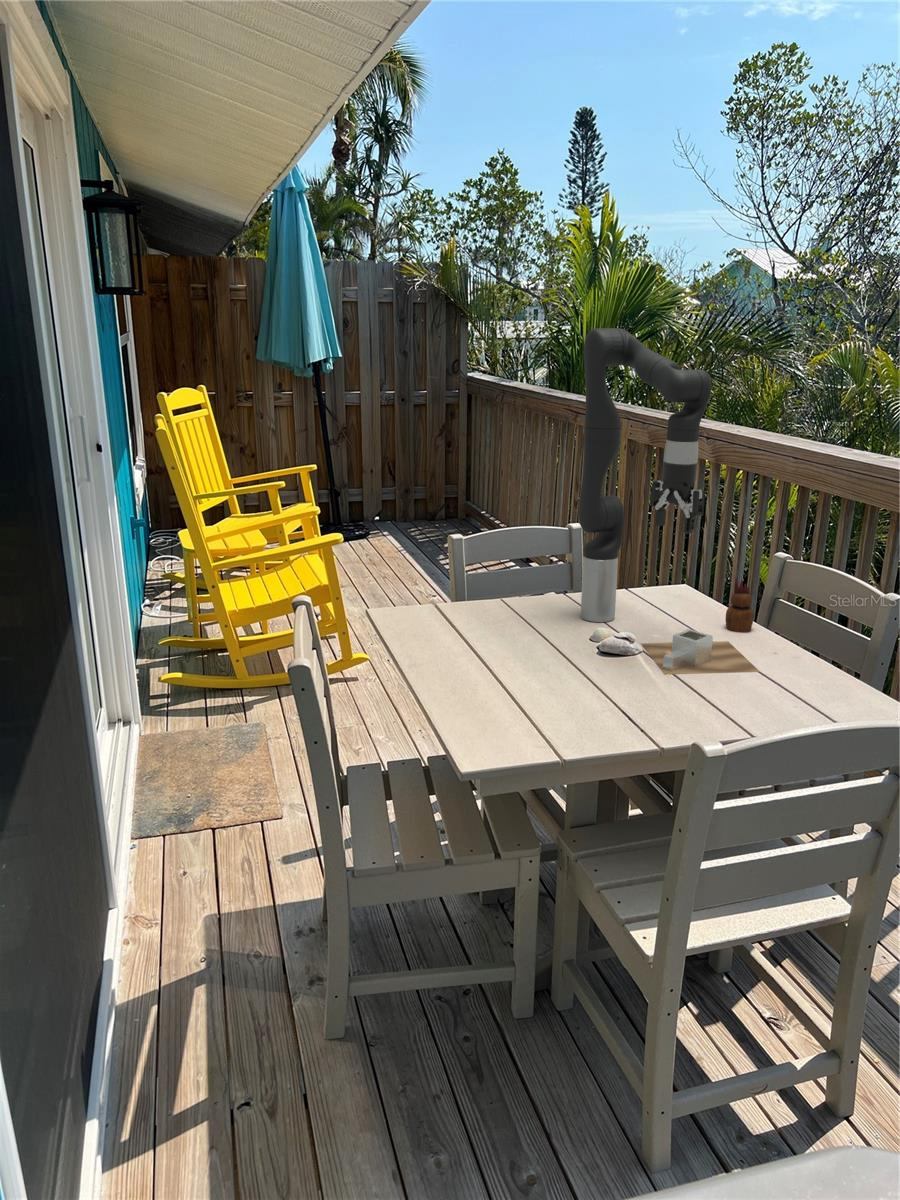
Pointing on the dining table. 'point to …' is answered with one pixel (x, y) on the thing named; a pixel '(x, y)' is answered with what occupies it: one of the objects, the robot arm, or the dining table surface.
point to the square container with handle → (688, 650)
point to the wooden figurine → (740, 610)
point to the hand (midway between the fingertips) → (674, 529)
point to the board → (721, 661)
